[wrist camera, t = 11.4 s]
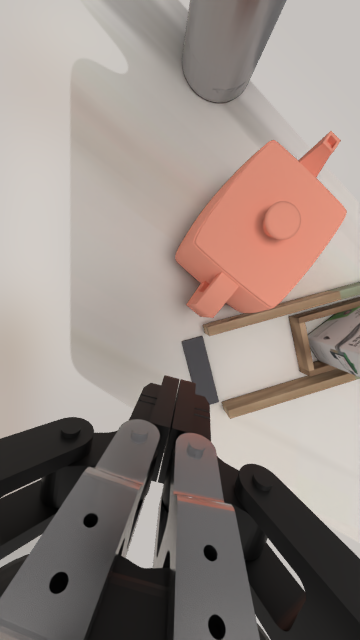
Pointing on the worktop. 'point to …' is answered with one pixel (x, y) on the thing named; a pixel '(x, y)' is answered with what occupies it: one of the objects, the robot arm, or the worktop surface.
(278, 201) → the teapot
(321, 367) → the sled frame
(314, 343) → the ink box
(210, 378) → the tile
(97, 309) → the worktop surface
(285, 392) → the channel
